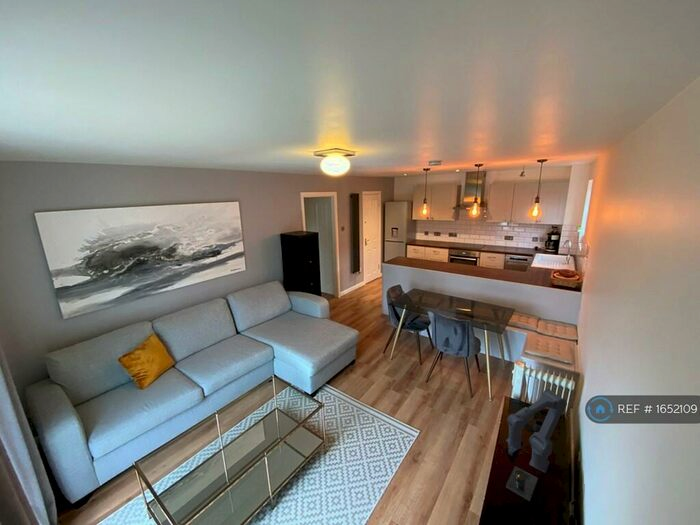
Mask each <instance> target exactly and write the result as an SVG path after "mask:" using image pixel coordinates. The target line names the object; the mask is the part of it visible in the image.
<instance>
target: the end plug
mask: <svg viewBox="0 0 700 525" xmlns="http://www.w3.org/2000/svg"><path fill="white" fill-rule="evenodd" d="M515 476H516V487H517V488H518V489H520V490H524V488H525V480H526V474H525V473H524V472H522V471H519V470H517V471H515Z"/></svg>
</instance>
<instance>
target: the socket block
mask: <svg viewBox="0 0 700 525" xmlns="http://www.w3.org/2000/svg"><path fill="white" fill-rule="evenodd" d="M517 470H519V471H522V472H524V473H525V474H526V480H525V488H524V490H520V489H518V488H517V487H516V476H515V471H517ZM538 481H539V478H538V477H537V476H536V475H533V474H531V473H529V472H527V471H526V470H524V469H522V468H519V467H518V466H516V465H515V466H514V468H513V470H512V472H511V474H510V476H509V478H508V480H507V482H506V485H505V488H506V489H508V490H510V491H511V492H512V493H514V494H516V495H518V496H519V497H522V498H523V499H524V500H526V501H528V502H531V500H532V497H533V494H534V492H535V488H536V486H537V483H538Z"/></svg>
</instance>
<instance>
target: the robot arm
mask: <svg viewBox="0 0 700 525" xmlns="http://www.w3.org/2000/svg"><path fill="white" fill-rule="evenodd" d="M567 405H568V403H567V401H566V399H564V398H562V397H560V396H559V395H558V394H556V393H555V392H553V391H552V390H551V389H545V390H544V391H543V392H541V394H540V398H539V399H537V400H535V402H533V403H532V404H531V405H530V406H529V407H527V406H524V407H523V408H521V409H520V410H519V411H518V412H515V413H510V414H508V416H507V418H506V422H507V425H508V438H506V440H505V442H506V443H507V444H508V448H507V447H506V448H505V454H507V458H508V460H509V463H511V464H515V462H516V459H517V457H518V456H519V453H520V451H521V448H522V447H523V445H524V442H523V441H522V430H523V429H524V426H525V425H526V422H527V423H529V421H530V420H532V419H534V418H535V414H536V413H539V412H540V411H542V410H544V409H546V408H549V410H548V411H547V413H546V416H545V419H544V422H543V425H542V427H541V429H540V431H539V433H538V432H533V433H532V435H531V436H530V437H529V439H528V443H529V445H530V447H531V459H530V461H529V463H528V465H529V466H530V467H533V468H535V469H537V470H538V471H541V472H543V473H546V472H547V470H548V467H549V465H550V461H549V460H548V457H549V456H551V454H552V449H553V446H554V445H553V443H552V440H551V437H552V434H553V432H554V430H555V428H556V426H557V424H558V422H559V419H560V417H561V416H562V414H564V412H565V409H566V407H568V406H567Z"/></svg>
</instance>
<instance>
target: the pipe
mask: <svg viewBox="0 0 700 525" xmlns="http://www.w3.org/2000/svg"><path fill="white" fill-rule="evenodd" d="M543 422H544V421H543V420H542V419H541V420H540V419H535V420H534V421H533V424H534V425H533V424H531V423H529V422H526V425H525V426H524V428H525V429H526V430H528V431H531V432H533V433H535V432H538V433H539V431H540V429H541V427H542V425H543ZM524 428H523V429H524Z"/></svg>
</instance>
